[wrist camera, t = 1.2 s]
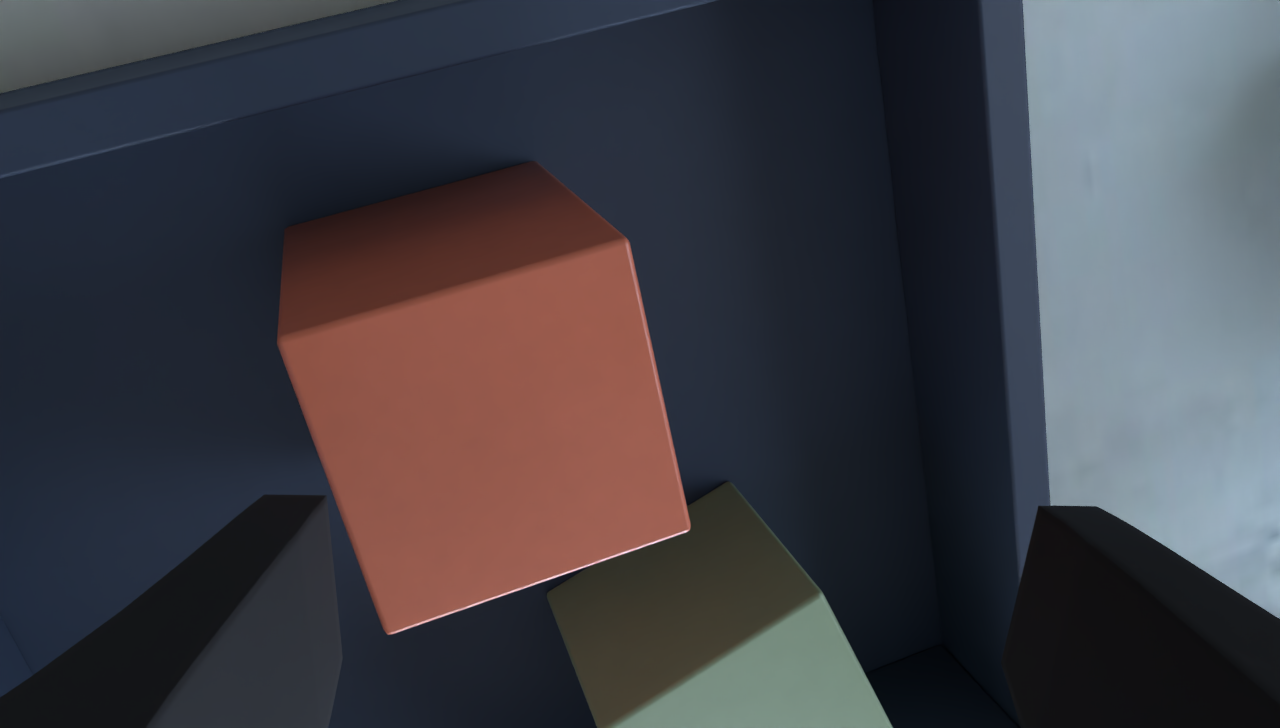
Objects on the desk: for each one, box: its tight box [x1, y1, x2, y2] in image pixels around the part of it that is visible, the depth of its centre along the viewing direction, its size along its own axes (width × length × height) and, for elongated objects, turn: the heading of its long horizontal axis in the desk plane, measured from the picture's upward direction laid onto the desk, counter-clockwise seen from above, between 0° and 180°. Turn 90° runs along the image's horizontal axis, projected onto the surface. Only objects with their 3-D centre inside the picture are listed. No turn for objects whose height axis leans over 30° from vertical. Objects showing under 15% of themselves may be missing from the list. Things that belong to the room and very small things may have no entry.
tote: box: [0, 0, 1050, 728], centre depth 19 cm, size 20×18×4 cm
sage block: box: [547, 482, 893, 728], centre depth 21 cm, size 4×4×4 cm
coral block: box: [277, 161, 691, 635], centre depth 17 cm, size 4×4×6 cm
